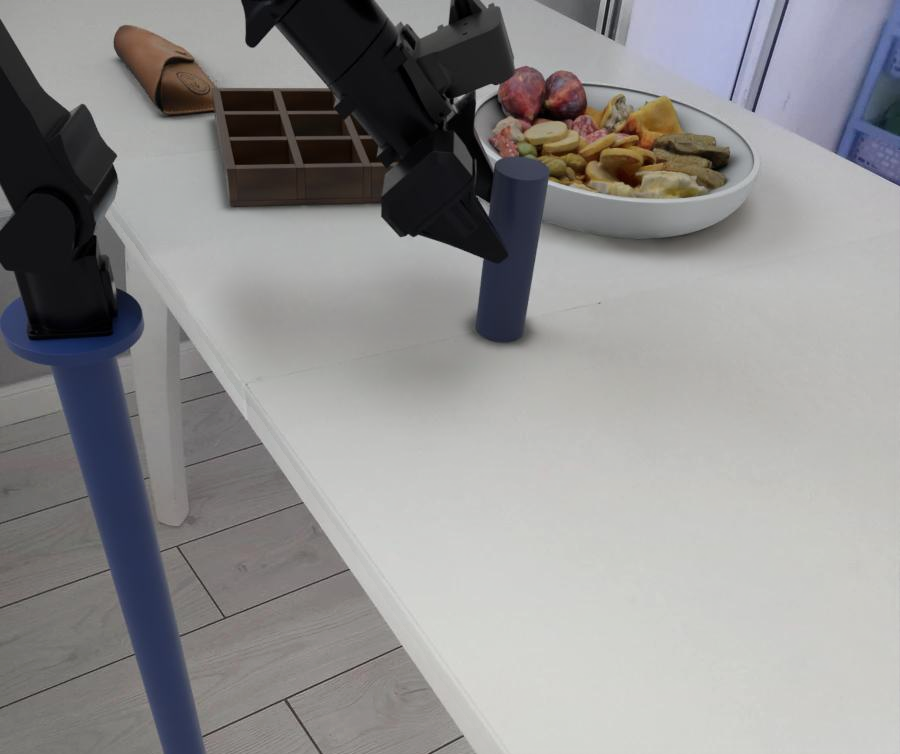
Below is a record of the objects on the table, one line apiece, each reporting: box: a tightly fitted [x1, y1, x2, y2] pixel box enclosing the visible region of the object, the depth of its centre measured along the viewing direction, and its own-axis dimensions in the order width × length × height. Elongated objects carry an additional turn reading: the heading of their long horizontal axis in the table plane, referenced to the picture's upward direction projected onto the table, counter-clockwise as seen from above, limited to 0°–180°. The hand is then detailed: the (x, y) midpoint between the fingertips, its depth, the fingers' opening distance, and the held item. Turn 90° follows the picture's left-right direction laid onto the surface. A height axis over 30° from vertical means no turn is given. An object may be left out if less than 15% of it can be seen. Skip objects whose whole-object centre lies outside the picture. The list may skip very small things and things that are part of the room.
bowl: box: [474, 65, 762, 239], centre depth 91 cm, size 30×30×8 cm
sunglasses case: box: [112, 24, 217, 116], centre depth 101 cm, size 18×7×7 cm
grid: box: [212, 87, 402, 207], centre depth 91 cm, size 20×20×4 cm
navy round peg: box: [474, 156, 550, 343], centre depth 68 cm, size 4×4×13 cm
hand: (502, 229), depth 67 cm, fingers open, 9 cm apart
